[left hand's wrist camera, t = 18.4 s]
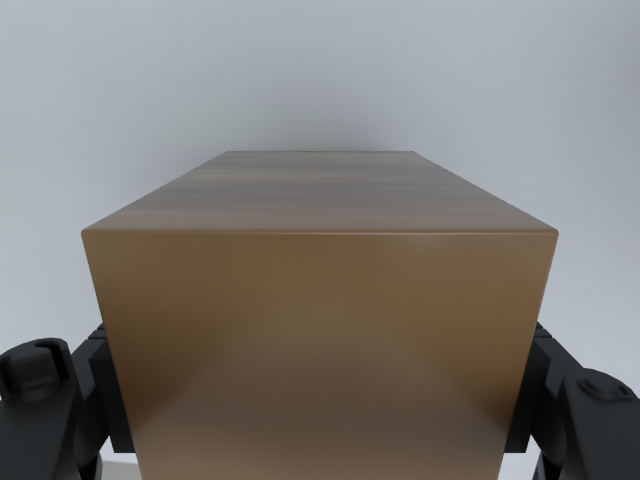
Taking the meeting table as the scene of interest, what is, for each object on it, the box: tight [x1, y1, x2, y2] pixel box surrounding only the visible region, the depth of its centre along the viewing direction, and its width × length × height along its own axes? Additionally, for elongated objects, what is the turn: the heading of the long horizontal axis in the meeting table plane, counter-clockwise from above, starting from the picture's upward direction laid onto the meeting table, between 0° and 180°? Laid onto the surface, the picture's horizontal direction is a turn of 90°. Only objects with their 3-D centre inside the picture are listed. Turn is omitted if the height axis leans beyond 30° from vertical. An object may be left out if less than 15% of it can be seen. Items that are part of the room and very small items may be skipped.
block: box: [81, 151, 559, 480], centre depth 13 cm, size 9×8×10 cm
